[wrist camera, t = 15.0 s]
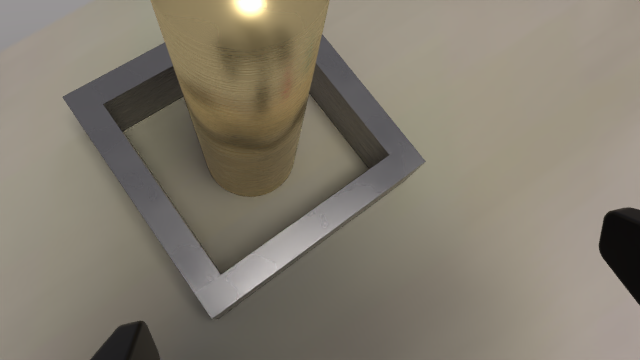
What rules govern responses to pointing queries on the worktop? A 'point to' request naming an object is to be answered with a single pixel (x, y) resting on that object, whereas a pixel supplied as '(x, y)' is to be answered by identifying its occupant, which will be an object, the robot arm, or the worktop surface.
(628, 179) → the worktop surface
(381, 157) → the collar
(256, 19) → the beige tall cylinder
